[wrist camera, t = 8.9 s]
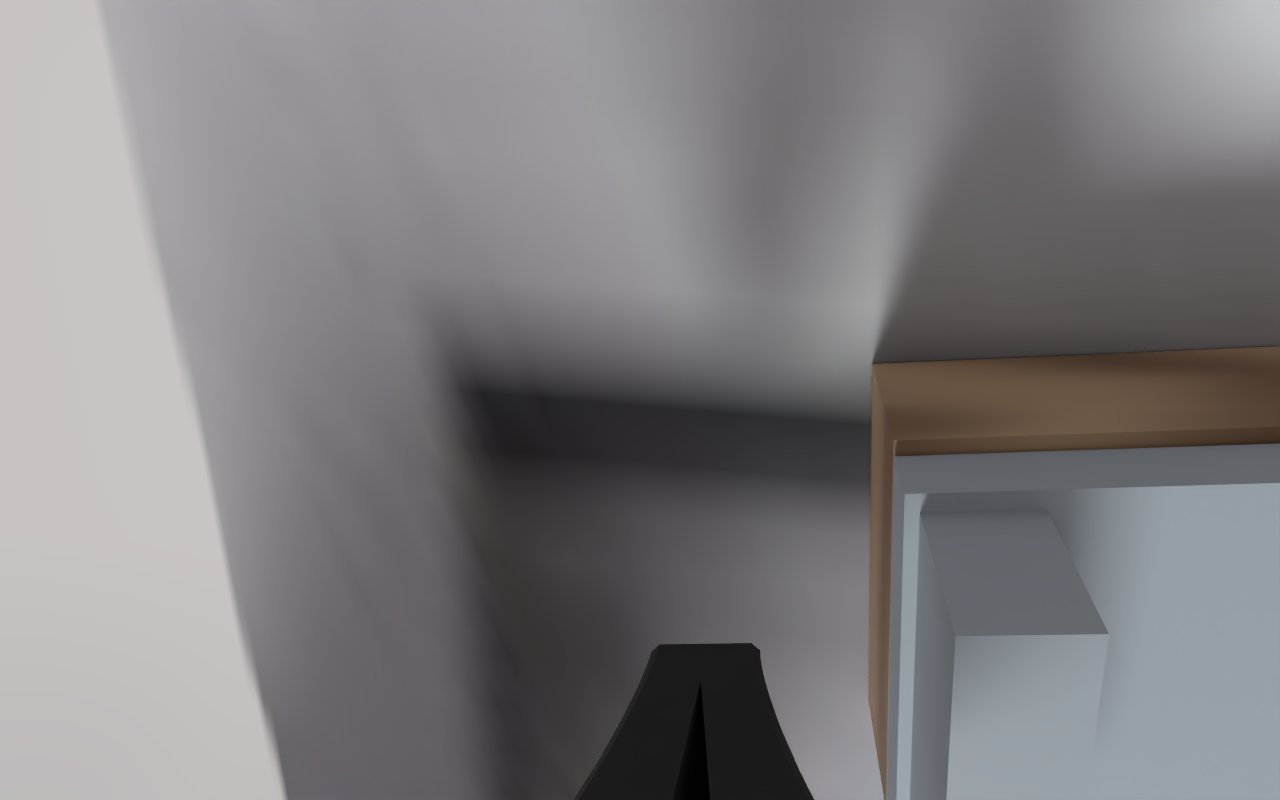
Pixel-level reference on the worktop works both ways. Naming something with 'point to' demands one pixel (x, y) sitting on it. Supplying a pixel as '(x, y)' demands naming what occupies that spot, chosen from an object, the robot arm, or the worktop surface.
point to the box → (1049, 431)
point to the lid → (1086, 625)
